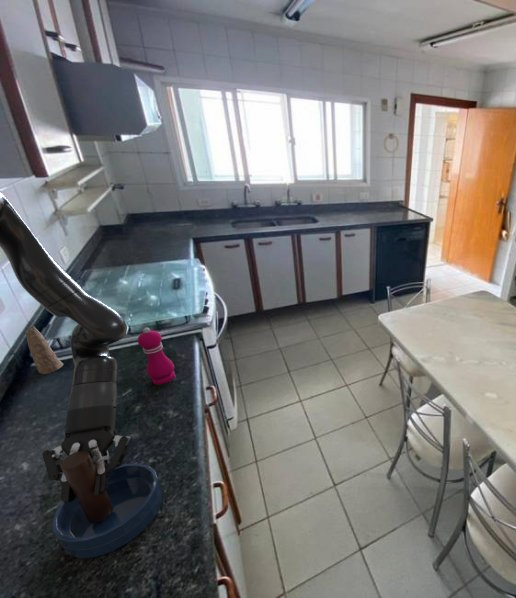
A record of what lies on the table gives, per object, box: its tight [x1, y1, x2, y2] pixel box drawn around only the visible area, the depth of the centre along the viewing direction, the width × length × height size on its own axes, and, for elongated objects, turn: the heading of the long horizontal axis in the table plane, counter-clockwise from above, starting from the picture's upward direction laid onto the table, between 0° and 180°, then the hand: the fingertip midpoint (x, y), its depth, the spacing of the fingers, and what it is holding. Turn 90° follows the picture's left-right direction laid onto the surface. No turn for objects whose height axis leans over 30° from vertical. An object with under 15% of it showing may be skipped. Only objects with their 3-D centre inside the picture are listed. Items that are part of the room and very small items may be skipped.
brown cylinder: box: [60, 451, 113, 523], centre depth 65 cm, size 4×4×16 cm
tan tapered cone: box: [25, 325, 64, 375], centre depth 104 cm, size 6×18×6 cm
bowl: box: [52, 462, 164, 559], centre depth 68 cm, size 16×16×6 cm
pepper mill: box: [137, 327, 177, 386], centre depth 104 cm, size 7×7×20 cm
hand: (84, 498), depth 63 cm, fingers closed on brown cylinder, 4 cm apart
